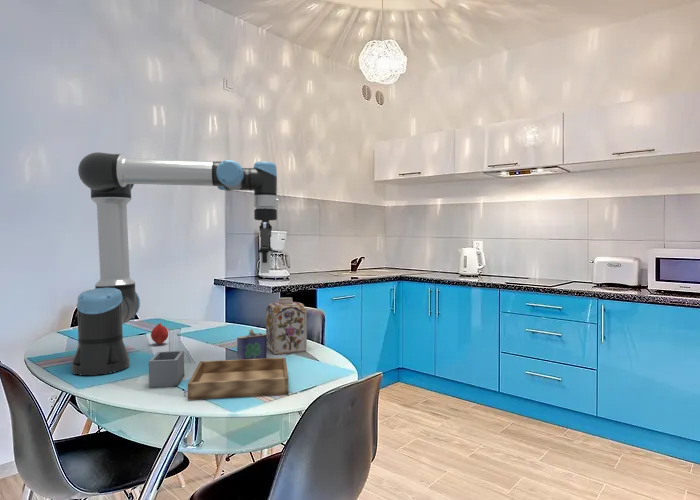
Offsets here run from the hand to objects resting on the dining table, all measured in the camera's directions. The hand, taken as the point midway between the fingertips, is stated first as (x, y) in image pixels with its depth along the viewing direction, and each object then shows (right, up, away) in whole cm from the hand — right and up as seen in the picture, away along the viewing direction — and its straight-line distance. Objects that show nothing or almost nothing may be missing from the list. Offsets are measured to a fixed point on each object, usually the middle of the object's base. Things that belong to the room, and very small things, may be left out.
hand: (265, 271), depth 158 cm
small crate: (-21, -28, -32) cm, 47 cm away
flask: (-1, -28, -15) cm, 32 cm away
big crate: (0, -29, -34) cm, 44 cm away
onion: (-40, -27, +11) cm, 50 cm away
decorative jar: (+7, -28, +4) cm, 28 cm away
